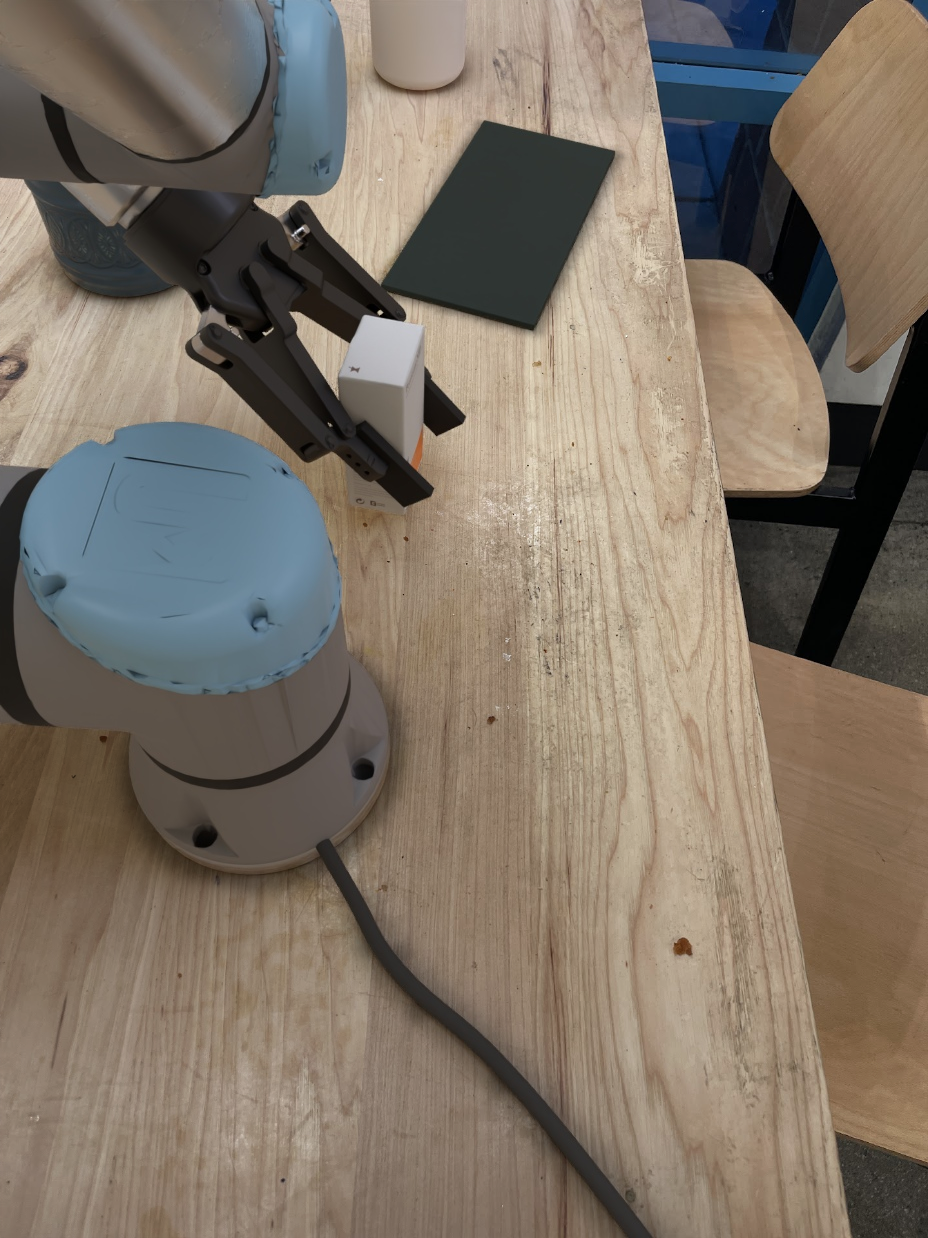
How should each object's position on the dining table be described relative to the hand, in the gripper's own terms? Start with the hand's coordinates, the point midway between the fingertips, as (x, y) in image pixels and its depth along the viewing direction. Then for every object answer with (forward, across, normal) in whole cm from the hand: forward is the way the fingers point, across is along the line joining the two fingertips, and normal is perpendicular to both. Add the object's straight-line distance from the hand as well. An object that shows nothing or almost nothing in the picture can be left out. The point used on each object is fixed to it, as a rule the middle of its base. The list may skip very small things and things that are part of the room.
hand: (435, 460), depth 61 cm
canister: (-21, -18, -27) cm, 39 cm away
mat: (0, -35, -6) cm, 36 cm away
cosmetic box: (0, 0, -5) cm, 5 cm away
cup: (-12, -57, -18) cm, 61 cm away
